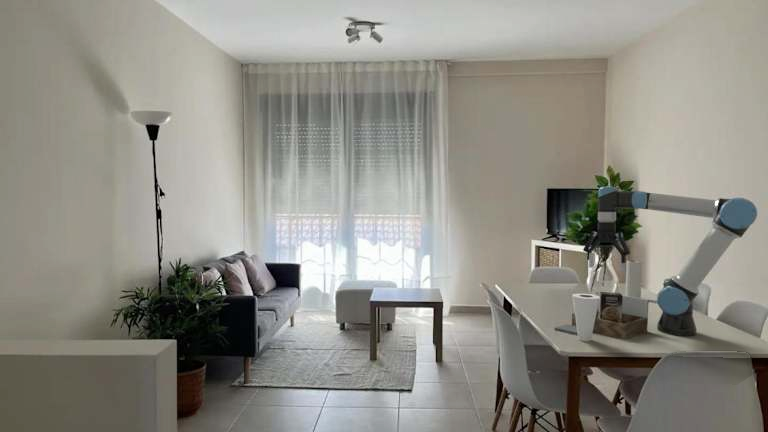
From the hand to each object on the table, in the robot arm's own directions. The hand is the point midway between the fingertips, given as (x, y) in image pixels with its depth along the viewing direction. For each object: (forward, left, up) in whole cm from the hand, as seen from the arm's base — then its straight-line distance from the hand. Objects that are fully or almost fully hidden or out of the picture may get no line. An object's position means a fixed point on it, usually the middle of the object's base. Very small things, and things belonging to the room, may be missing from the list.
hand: (605, 268), depth 239 cm
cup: (-5, +26, -27) cm, 38 cm away
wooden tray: (-3, +1, -26) cm, 27 cm away
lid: (-3, -9, -20) cm, 23 cm away
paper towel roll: (+25, -80, -27) cm, 88 cm away
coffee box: (-3, +1, -27) cm, 27 cm away
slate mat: (+6, +17, -26) cm, 32 cm away
